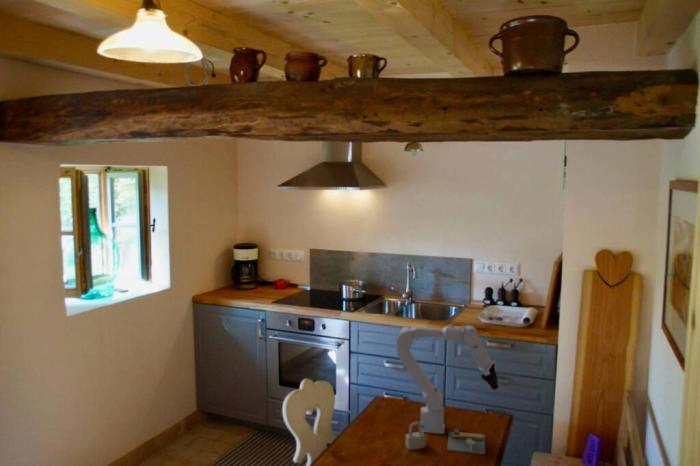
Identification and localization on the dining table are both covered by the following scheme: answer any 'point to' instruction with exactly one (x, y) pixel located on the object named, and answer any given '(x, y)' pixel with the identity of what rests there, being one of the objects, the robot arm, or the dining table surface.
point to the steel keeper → (471, 444)
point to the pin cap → (456, 431)
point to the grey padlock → (415, 437)
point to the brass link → (467, 436)
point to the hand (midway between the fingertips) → (495, 385)
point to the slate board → (465, 445)
